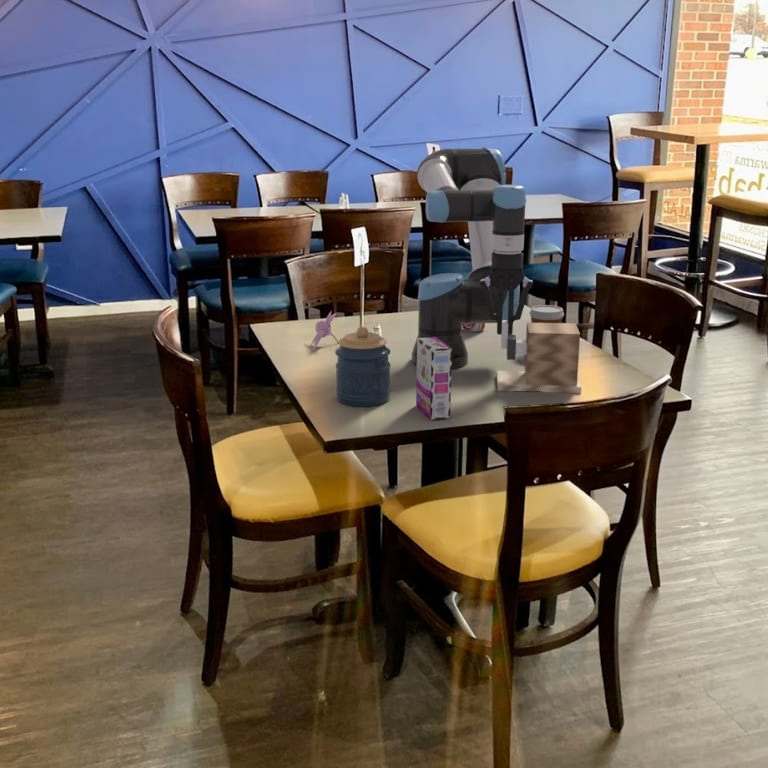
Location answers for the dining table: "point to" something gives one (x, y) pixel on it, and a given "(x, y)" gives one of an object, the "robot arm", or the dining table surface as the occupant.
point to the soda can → (473, 327)
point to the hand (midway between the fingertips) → (504, 347)
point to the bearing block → (547, 361)
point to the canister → (362, 369)
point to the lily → (323, 329)
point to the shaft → (516, 347)
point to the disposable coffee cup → (546, 314)
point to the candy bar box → (433, 378)
